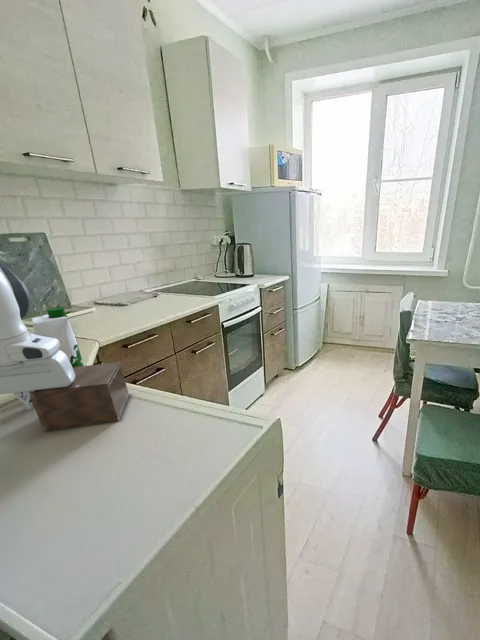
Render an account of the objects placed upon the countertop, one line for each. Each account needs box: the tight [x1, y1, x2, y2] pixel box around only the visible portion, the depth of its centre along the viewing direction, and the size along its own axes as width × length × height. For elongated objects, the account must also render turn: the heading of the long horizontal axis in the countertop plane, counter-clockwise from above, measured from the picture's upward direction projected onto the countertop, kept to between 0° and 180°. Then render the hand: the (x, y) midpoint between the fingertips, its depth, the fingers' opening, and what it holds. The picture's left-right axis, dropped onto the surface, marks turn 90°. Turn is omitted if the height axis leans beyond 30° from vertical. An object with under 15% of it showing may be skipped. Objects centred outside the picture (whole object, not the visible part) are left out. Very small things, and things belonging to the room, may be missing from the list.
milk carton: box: [31, 306, 84, 367], centre depth 100 cm, size 9×9×20 cm
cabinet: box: [33, 361, 130, 432], centre depth 82 cm, size 15×13×10 cm
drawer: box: [30, 393, 47, 428], centre depth 82 cm, size 15×11×8 cm
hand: (31, 407), depth 77 cm, fingers closed, pressing on drawer
